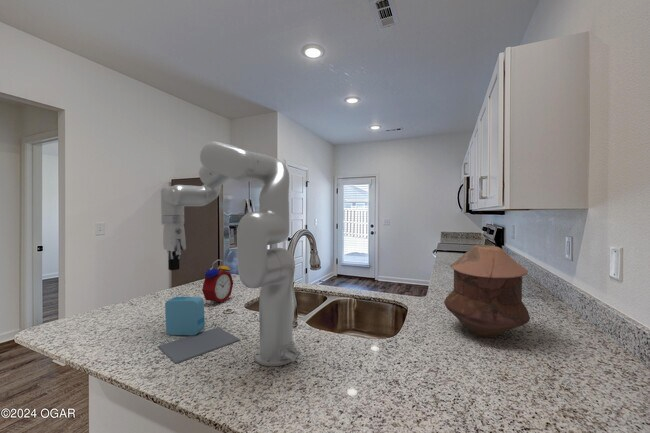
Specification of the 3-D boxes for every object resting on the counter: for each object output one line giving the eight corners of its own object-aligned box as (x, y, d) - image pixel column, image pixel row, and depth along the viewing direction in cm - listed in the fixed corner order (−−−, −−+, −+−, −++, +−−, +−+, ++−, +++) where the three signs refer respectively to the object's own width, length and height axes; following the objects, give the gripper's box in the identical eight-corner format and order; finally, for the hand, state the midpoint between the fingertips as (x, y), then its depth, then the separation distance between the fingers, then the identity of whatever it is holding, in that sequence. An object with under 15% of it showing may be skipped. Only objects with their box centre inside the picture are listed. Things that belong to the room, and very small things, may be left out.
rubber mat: (240, 340, 96) (240, 339, 96) (175, 364, 81) (175, 362, 81) (218, 327, 106) (218, 326, 106) (157, 347, 92) (157, 345, 92)
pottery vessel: (468, 313, 119) (468, 240, 118) (542, 335, 98) (543, 246, 97) (429, 328, 104) (429, 245, 103) (507, 358, 83) (508, 253, 82)
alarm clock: (213, 307, 129) (213, 262, 128) (197, 305, 131) (196, 261, 131) (234, 297, 143) (233, 257, 142) (219, 296, 145) (218, 256, 145)
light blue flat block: (205, 330, 103) (204, 296, 103) (197, 335, 98) (196, 300, 98) (174, 329, 105) (173, 296, 105) (165, 334, 100) (164, 300, 100)
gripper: (191, 220, 105) (192, 270, 106) (176, 219, 116) (177, 265, 116) (169, 221, 100) (170, 274, 100) (155, 220, 110) (156, 268, 110)
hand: (174, 269), depth 108 cm, fingers closed
